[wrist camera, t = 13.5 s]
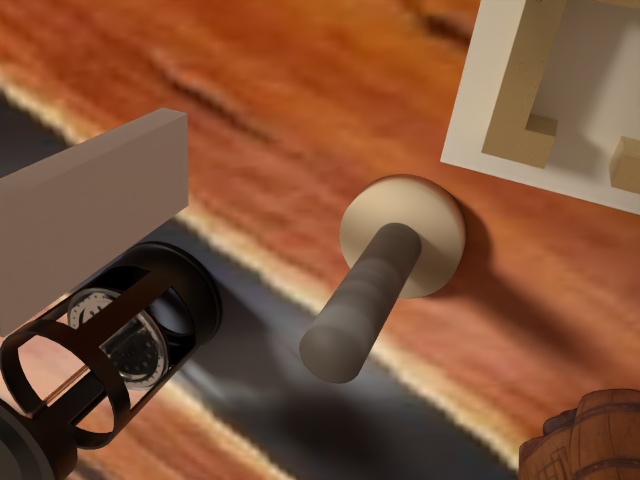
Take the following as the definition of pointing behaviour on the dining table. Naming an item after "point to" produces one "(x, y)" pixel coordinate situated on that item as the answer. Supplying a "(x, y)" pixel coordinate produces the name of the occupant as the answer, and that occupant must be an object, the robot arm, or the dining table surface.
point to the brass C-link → (520, 91)
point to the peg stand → (384, 268)
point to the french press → (102, 357)
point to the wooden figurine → (588, 441)
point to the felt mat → (557, 98)
